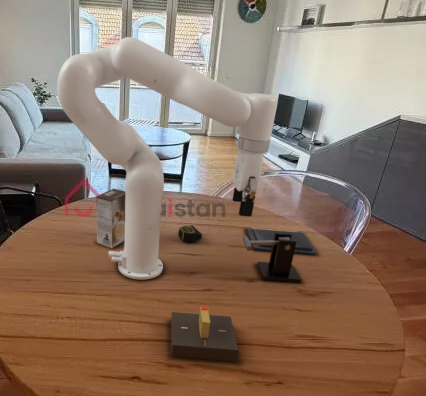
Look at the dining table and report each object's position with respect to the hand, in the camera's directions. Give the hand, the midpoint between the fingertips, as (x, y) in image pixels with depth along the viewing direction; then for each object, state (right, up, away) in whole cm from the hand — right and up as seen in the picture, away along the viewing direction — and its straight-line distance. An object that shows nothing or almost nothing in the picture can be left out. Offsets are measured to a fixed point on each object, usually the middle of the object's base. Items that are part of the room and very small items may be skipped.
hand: (241, 208), depth 97 cm
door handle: (+8, -11, +4) cm, 14 cm away
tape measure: (-11, -11, +24) cm, 29 cm away
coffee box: (-36, -11, +21) cm, 43 cm away
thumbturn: (-13, -25, -21) cm, 35 cm away
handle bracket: (+12, -19, +7) cm, 23 cm away
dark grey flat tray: (+19, -12, +25) cm, 34 cm away
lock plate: (-14, -28, -20) cm, 36 cm away
